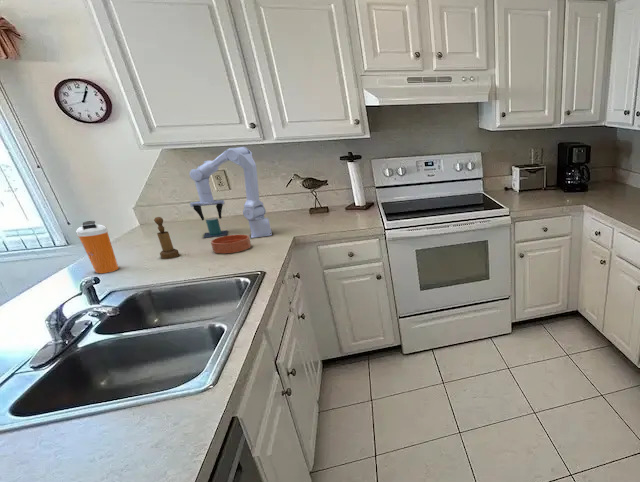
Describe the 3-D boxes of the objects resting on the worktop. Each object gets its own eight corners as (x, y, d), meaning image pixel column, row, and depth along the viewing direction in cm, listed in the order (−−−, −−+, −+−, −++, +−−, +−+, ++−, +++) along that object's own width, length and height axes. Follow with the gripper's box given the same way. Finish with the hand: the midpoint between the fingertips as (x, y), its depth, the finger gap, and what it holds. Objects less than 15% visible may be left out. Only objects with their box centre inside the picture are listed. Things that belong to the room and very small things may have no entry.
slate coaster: (227, 231, 223) (226, 230, 223) (226, 235, 215) (226, 234, 215) (205, 233, 218) (204, 233, 218) (203, 238, 210) (203, 237, 210)
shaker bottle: (119, 265, 174) (101, 218, 166) (124, 269, 168) (106, 222, 161) (90, 270, 167) (71, 223, 160) (94, 276, 162) (74, 226, 154)
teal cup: (222, 232, 220) (218, 217, 217) (221, 234, 215) (217, 219, 212) (210, 233, 218) (206, 218, 215) (208, 235, 213) (204, 220, 210)
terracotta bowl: (251, 242, 203) (248, 232, 201) (251, 251, 191) (249, 240, 189) (214, 247, 196) (211, 237, 194) (213, 256, 184) (210, 245, 182)
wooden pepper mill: (158, 259, 180) (144, 219, 173) (165, 255, 186) (152, 215, 179) (175, 258, 181) (163, 218, 175) (182, 253, 187) (170, 214, 180)
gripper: (185, 195, 202) (193, 222, 207) (220, 193, 208) (227, 219, 213) (188, 193, 208) (196, 219, 213) (222, 190, 214) (228, 216, 219)
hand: (211, 219), depth 214 cm, fingers open, 7 cm apart
